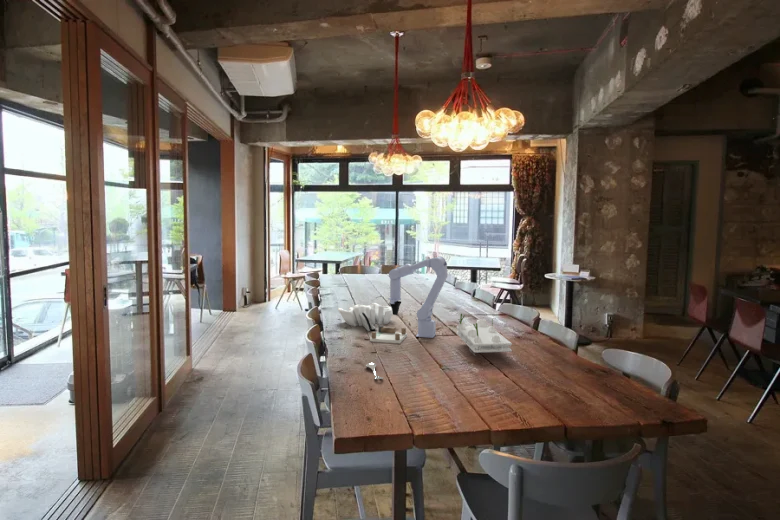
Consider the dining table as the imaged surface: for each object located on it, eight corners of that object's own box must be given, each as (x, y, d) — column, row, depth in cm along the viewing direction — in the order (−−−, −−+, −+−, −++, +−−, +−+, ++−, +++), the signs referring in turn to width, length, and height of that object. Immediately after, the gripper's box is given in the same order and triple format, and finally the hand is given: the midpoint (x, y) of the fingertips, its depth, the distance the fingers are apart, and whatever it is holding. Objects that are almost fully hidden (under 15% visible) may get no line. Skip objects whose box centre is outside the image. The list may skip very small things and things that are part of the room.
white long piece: (386, 372, 184) (374, 373, 183) (386, 381, 184) (374, 382, 183) (374, 360, 204) (364, 361, 202) (375, 368, 204) (364, 369, 203)
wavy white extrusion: (341, 327, 276) (341, 309, 275) (336, 321, 292) (336, 304, 291) (398, 323, 285) (398, 306, 284) (391, 318, 301) (391, 301, 300)
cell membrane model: (512, 361, 210) (512, 324, 208) (465, 363, 208) (466, 325, 206) (488, 341, 245) (489, 309, 243) (448, 342, 243) (449, 310, 241)
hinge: (376, 330, 267) (371, 314, 265) (369, 333, 266) (363, 317, 264) (370, 323, 283) (364, 308, 281) (362, 326, 282) (357, 311, 280)
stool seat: (407, 335, 255) (407, 327, 255) (399, 343, 240) (399, 334, 240) (379, 333, 260) (379, 325, 259) (370, 341, 244) (369, 332, 244)
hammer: (377, 332, 257) (377, 326, 256) (379, 330, 259) (379, 325, 259) (394, 333, 254) (394, 327, 254) (395, 332, 257) (395, 326, 256)
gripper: (392, 288, 268) (392, 311, 269) (384, 292, 254) (384, 316, 255) (404, 288, 266) (403, 312, 267) (397, 292, 252) (397, 317, 253)
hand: (395, 314), depth 261 cm, fingers closed
